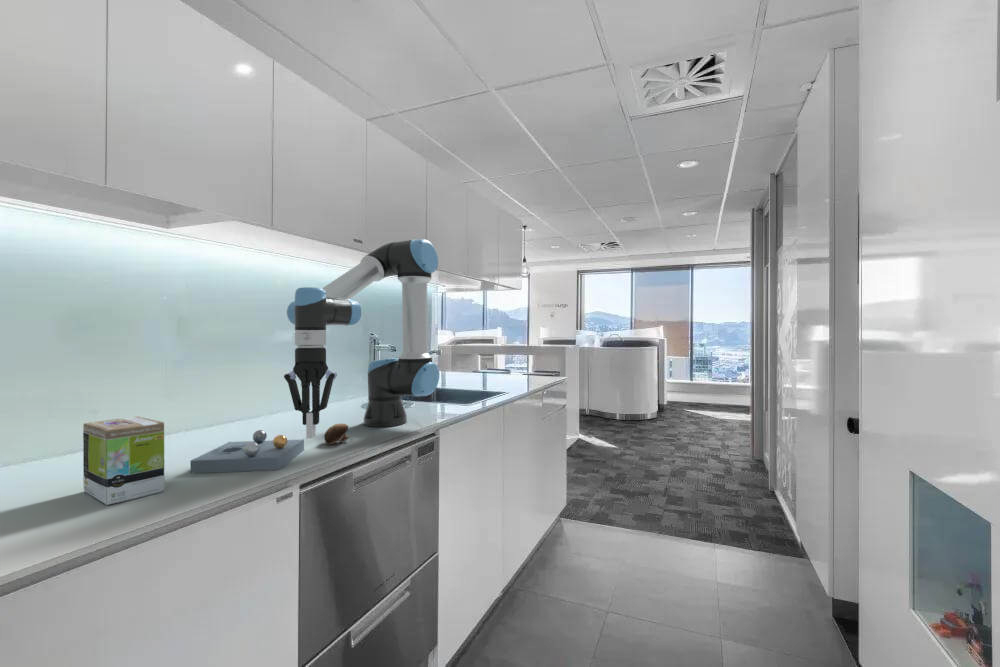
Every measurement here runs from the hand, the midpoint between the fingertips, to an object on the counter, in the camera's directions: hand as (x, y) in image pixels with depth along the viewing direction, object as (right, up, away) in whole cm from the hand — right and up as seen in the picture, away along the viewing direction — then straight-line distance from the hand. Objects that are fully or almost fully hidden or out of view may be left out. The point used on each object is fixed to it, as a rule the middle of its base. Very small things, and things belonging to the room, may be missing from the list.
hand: (311, 437), depth 117 cm
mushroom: (+1, -6, +16) cm, 17 cm away
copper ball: (-8, -1, 0) cm, 8 cm away
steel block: (-16, -1, +6) cm, 17 cm away
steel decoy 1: (-11, -1, -8) cm, 14 cm away
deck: (-15, -6, -1) cm, 16 cm away
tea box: (-30, -7, -23) cm, 38 cm away
